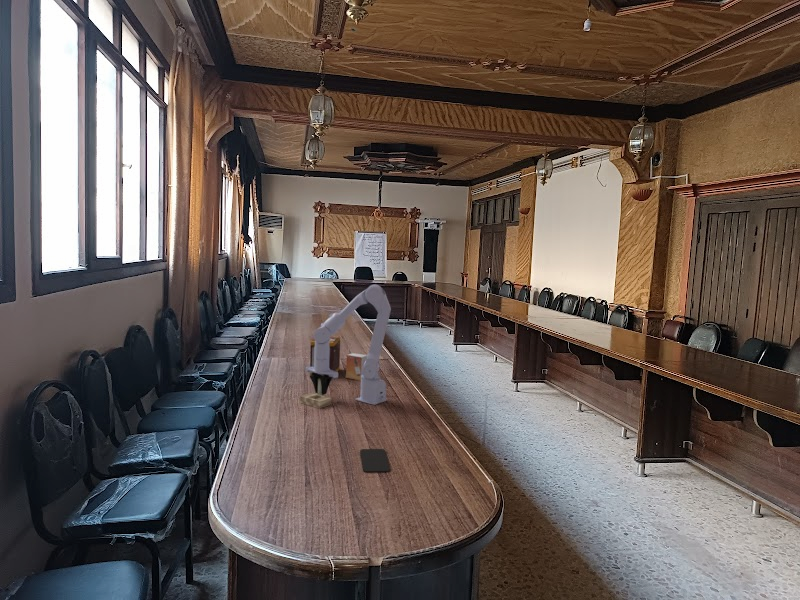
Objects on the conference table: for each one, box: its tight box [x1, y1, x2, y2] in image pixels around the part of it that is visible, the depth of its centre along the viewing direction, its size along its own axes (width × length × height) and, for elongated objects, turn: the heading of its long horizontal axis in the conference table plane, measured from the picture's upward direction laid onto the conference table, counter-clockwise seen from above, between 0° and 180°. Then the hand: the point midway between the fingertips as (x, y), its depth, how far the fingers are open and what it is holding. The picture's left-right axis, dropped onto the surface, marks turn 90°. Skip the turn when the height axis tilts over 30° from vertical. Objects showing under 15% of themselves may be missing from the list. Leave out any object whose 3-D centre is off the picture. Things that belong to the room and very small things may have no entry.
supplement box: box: [309, 336, 341, 376], centre depth 247 cm, size 10×15×16 cm
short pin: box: [330, 390, 339, 404], centre depth 204 cm, size 3×3×4 cm
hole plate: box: [299, 392, 332, 409], centre depth 200 cm, size 10×6×2 cm, turn 55°
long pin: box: [317, 378, 325, 396], centre depth 207 cm, size 3×3×8 cm
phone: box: [359, 448, 391, 474], centre depth 151 cm, size 7×1×15 cm
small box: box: [345, 352, 368, 382], centre depth 239 cm, size 8×6×10 cm
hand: (321, 393), depth 208 cm, fingers closed on long pin, 3 cm apart
